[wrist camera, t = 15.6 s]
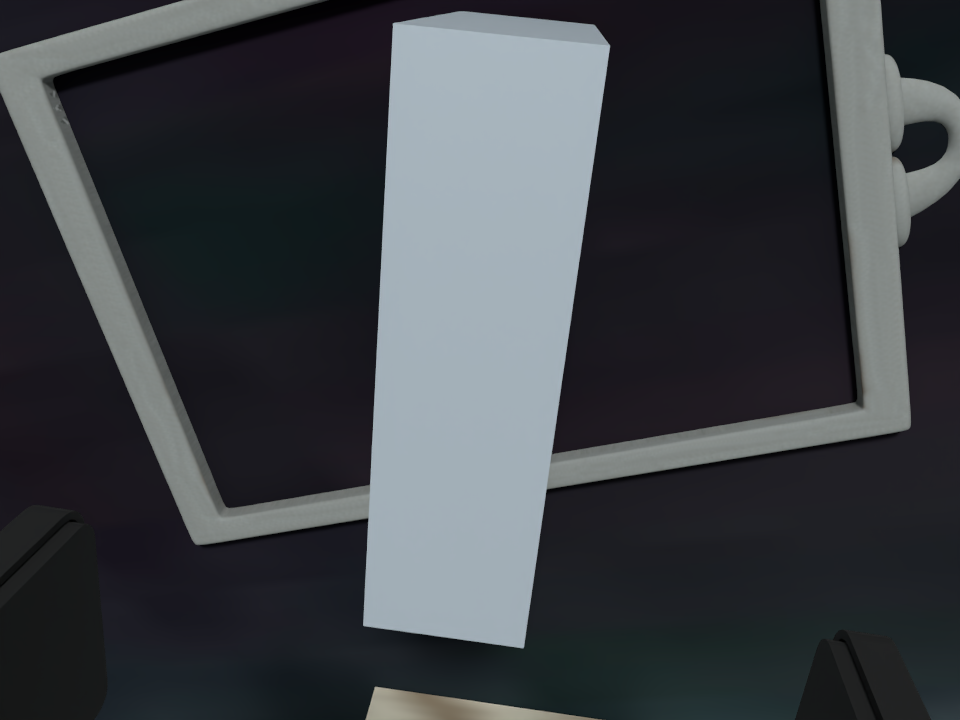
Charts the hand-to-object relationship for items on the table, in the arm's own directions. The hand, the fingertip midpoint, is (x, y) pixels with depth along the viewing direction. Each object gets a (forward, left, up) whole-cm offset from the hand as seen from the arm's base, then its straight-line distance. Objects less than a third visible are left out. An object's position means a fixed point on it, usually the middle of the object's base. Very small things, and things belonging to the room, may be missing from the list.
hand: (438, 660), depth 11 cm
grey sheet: (+1, 0, -19) cm, 19 cm away
